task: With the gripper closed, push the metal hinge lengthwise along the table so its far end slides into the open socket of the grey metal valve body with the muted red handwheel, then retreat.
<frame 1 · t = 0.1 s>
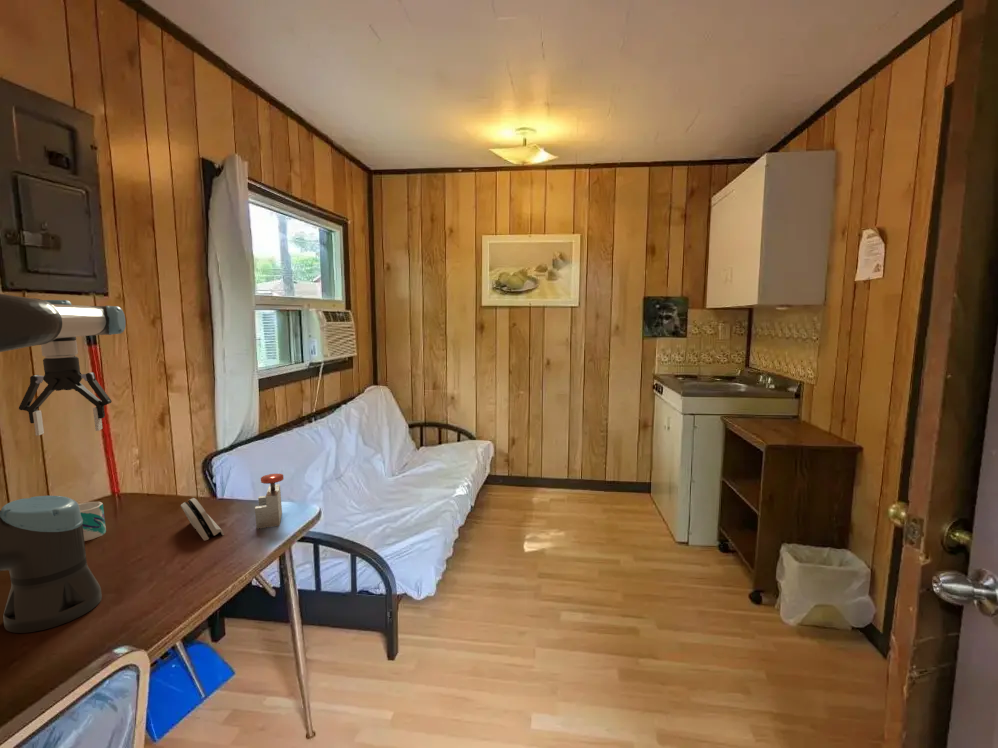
hand: (70, 432, 143), 28 cm above the table, fingers open, 13 cm apart
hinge: (201, 531, 143), on the table
mug: (87, 533, 143), on the table
valve body: (269, 520, 149), on the table
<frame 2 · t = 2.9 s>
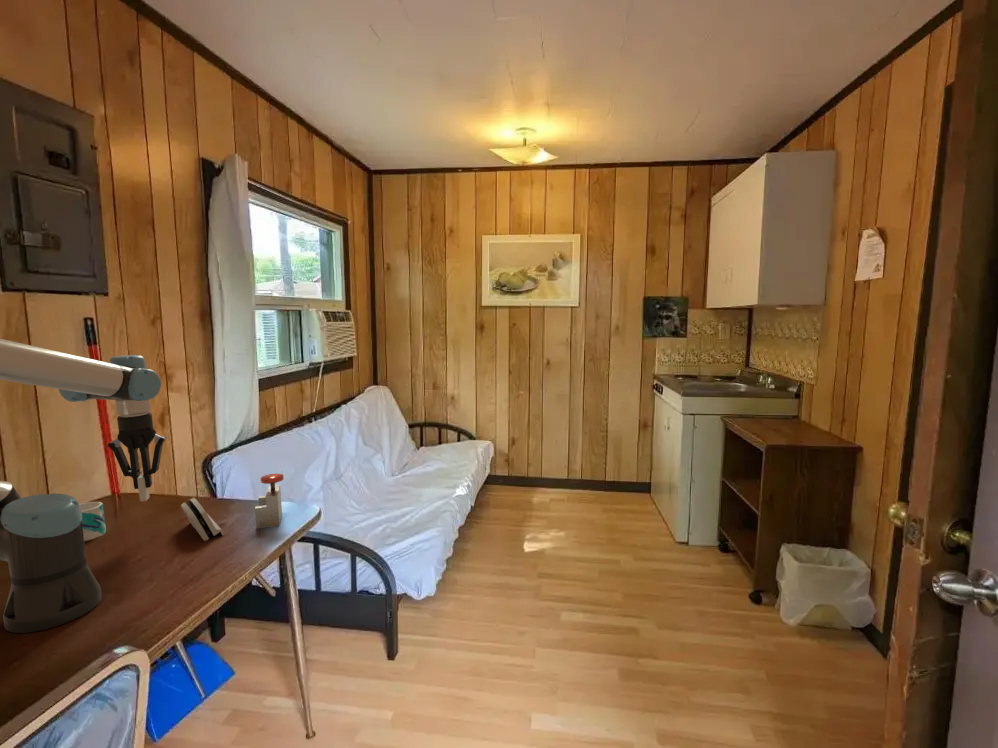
hand: (144, 499, 138), 11 cm above the table, fingers closed
nothing on the table moved.
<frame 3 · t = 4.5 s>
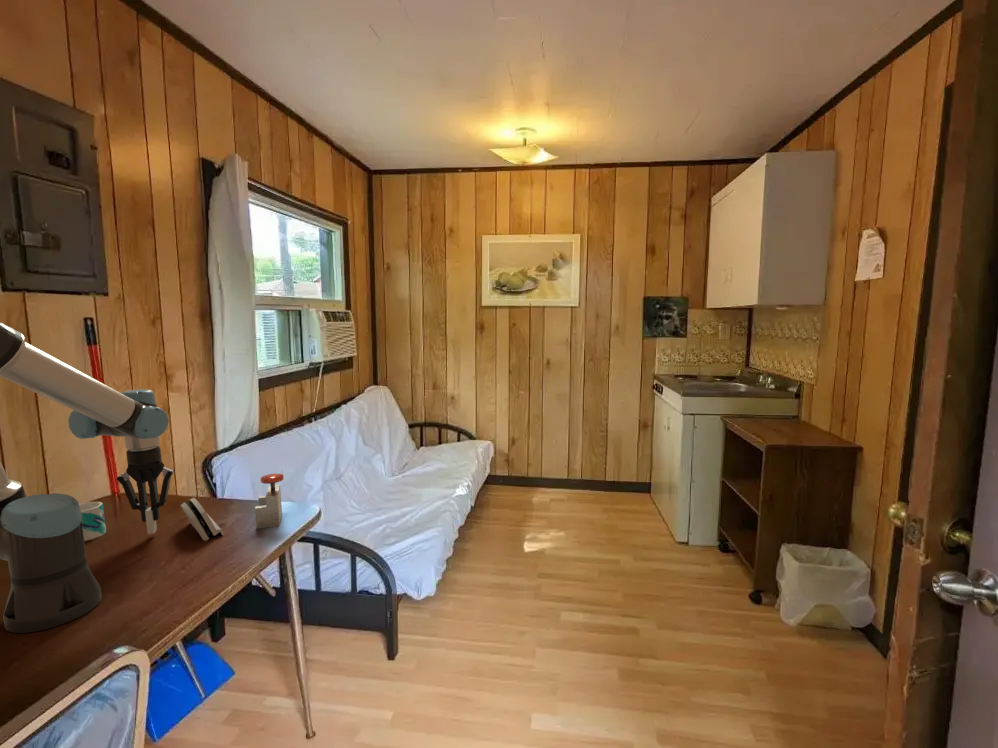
hand: (152, 531, 139), 1 cm above the table, fingers closed
nothing on the table moved.
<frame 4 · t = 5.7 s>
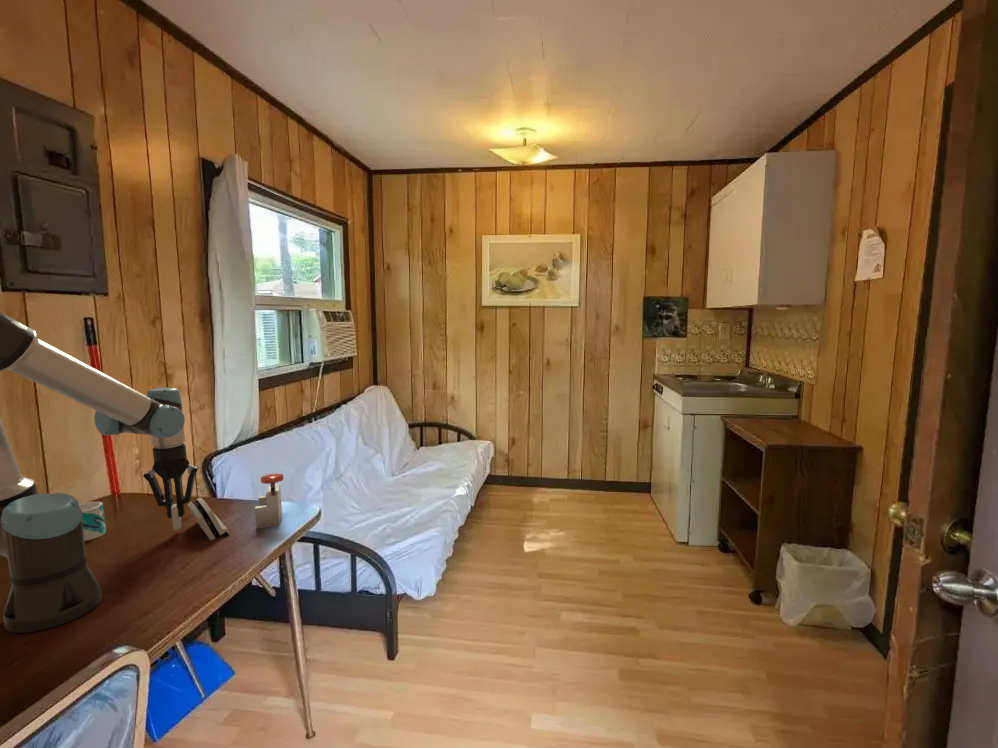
hand: (177, 528, 141), 2 cm above the table, fingers closed
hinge: (208, 531, 144), on the table, touching gripper
everything else where it was.
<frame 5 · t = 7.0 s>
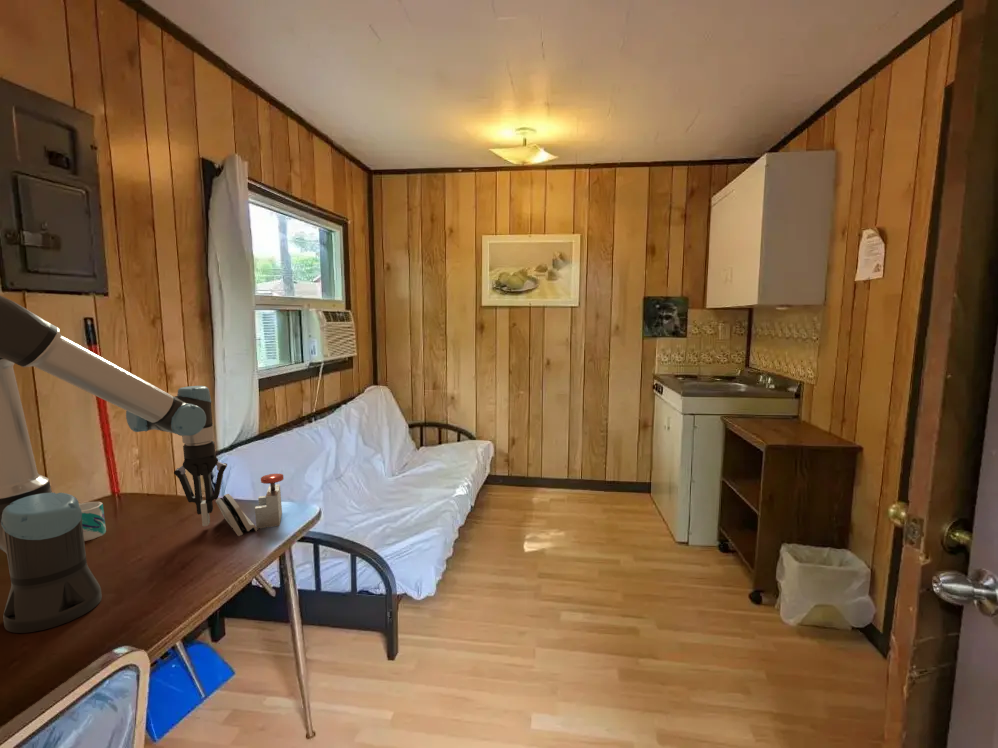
hand: (206, 524, 144), 2 cm above the table, fingers closed
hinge: (235, 526, 146), on the table, touching gripper, valve body
everything else where it was.
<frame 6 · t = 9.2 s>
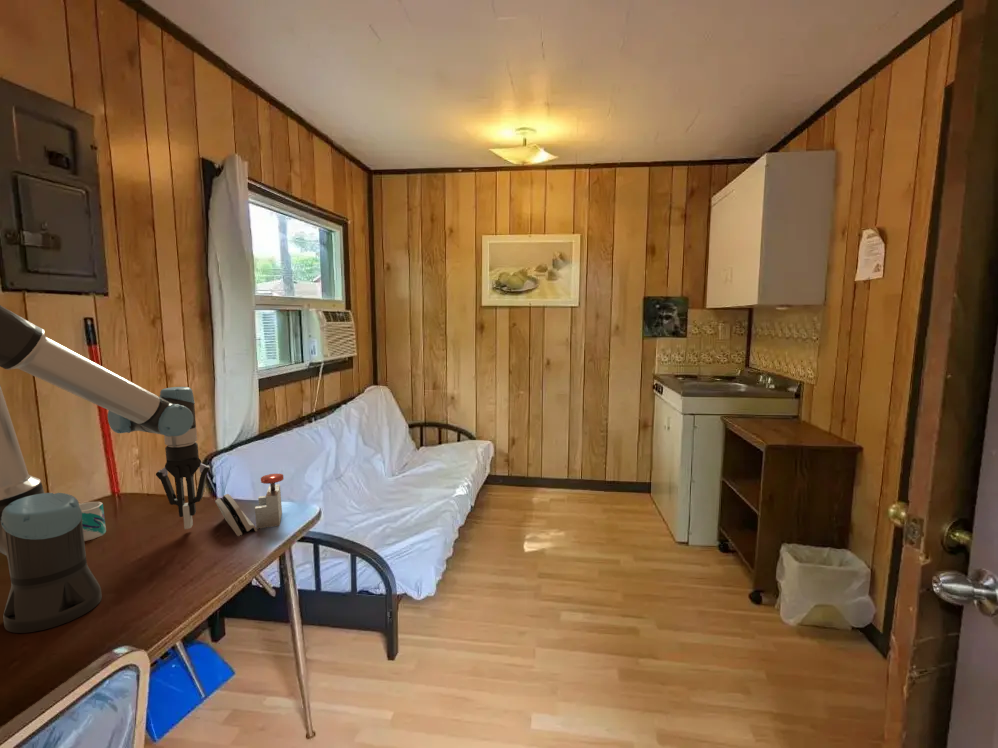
hand: (188, 526, 142), 2 cm above the table, fingers closed
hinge: (235, 527, 146), on the table
everything else where it was.
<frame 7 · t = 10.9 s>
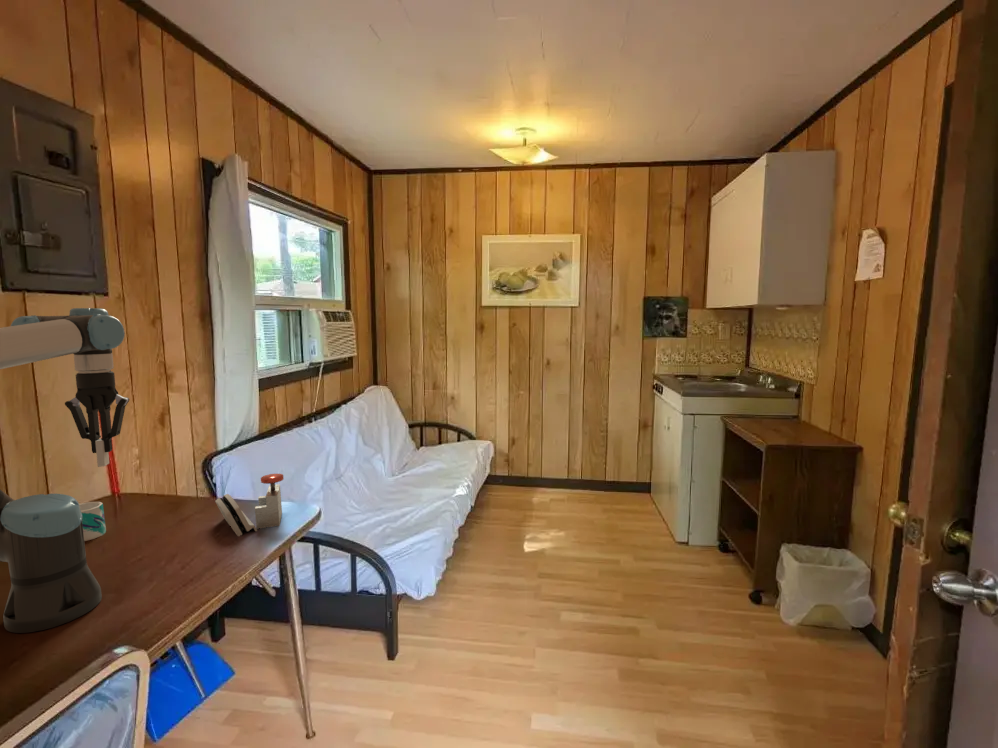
hand: (103, 465, 128), 23 cm above the table, fingers closed
nothing on the table moved.
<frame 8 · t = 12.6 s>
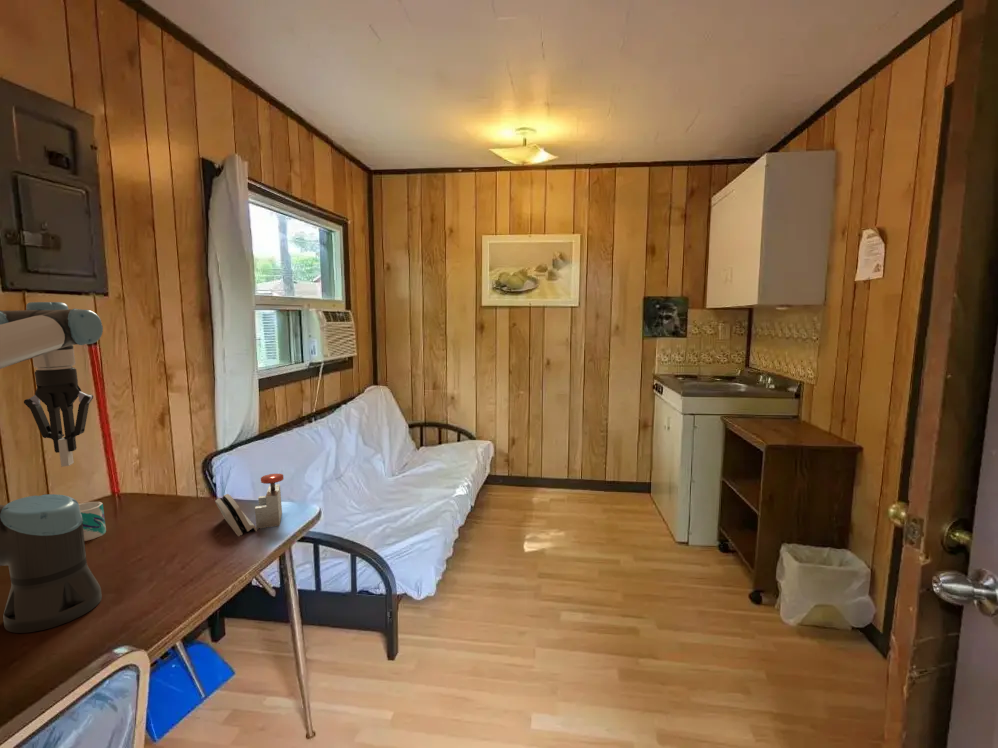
hand: (67, 464, 124), 24 cm above the table, fingers closed
nothing on the table moved.
at the end: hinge inside the target area (0.8 cm from its centre), on the table; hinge tilted 1° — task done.
